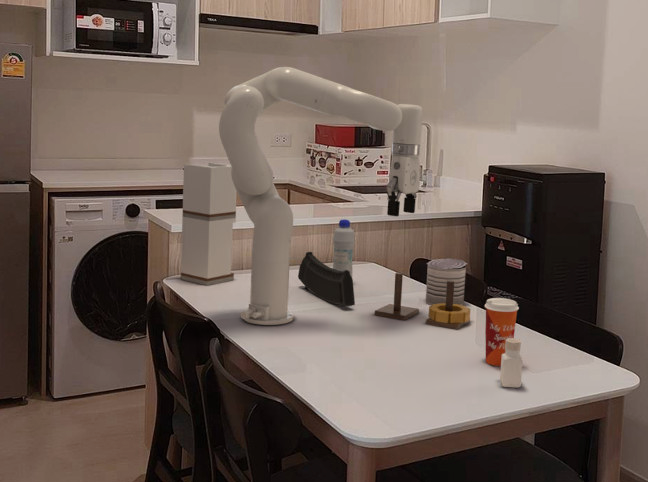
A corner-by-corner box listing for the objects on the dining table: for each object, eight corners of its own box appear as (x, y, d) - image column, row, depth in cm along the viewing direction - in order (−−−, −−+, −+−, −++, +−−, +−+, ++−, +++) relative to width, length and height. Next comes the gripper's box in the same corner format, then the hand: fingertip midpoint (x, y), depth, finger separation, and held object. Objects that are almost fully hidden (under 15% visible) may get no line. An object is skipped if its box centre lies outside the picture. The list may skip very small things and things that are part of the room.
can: (470, 306, 235) (473, 265, 234) (433, 308, 231) (436, 266, 230) (454, 297, 246) (456, 257, 245) (419, 298, 241) (421, 258, 240)
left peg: (404, 320, 217) (407, 278, 216) (374, 315, 220) (376, 273, 219) (418, 313, 225) (421, 272, 224) (389, 308, 229) (391, 268, 228)
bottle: (327, 283, 253) (330, 219, 251) (336, 279, 260) (339, 217, 258) (347, 286, 251) (350, 221, 250) (355, 282, 258) (359, 219, 256)
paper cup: (487, 368, 181) (491, 306, 180) (476, 357, 189) (480, 297, 187) (520, 367, 184) (524, 305, 182) (508, 356, 191) (512, 297, 190)
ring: (460, 325, 210) (460, 315, 210) (423, 319, 215) (423, 309, 214) (474, 316, 220) (475, 307, 220) (438, 310, 224) (439, 301, 224)
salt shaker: (518, 381, 174) (521, 338, 173) (521, 388, 170) (524, 343, 169) (499, 381, 173) (502, 337, 173) (501, 387, 169) (504, 342, 169)
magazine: (360, 279, 222) (315, 230, 245) (350, 280, 220) (305, 230, 243) (349, 333, 227) (306, 280, 250) (338, 335, 225) (296, 281, 248)
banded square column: (233, 279, 252) (237, 166, 248) (207, 285, 243) (211, 167, 239) (207, 273, 258) (210, 162, 254) (180, 279, 249) (183, 164, 245)
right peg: (457, 329, 211) (460, 286, 210) (425, 323, 214) (428, 281, 213) (470, 321, 219) (472, 280, 218) (438, 316, 223) (441, 275, 222)
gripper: (404, 152, 210) (399, 218, 211) (431, 151, 226) (427, 213, 227) (378, 149, 213) (373, 215, 214) (407, 148, 229) (402, 209, 230)
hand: (401, 214), depth 221 cm, fingers open, 9 cm apart
